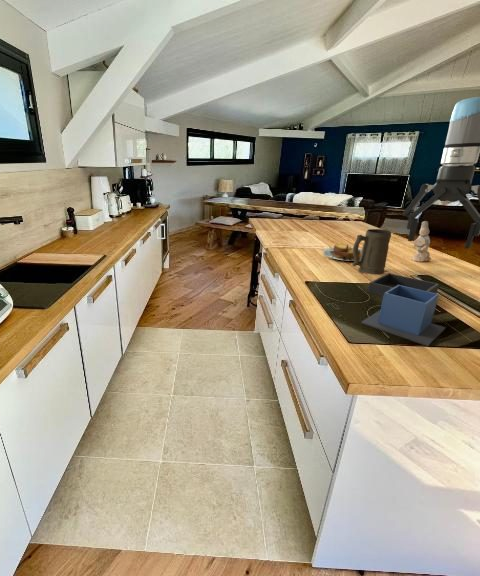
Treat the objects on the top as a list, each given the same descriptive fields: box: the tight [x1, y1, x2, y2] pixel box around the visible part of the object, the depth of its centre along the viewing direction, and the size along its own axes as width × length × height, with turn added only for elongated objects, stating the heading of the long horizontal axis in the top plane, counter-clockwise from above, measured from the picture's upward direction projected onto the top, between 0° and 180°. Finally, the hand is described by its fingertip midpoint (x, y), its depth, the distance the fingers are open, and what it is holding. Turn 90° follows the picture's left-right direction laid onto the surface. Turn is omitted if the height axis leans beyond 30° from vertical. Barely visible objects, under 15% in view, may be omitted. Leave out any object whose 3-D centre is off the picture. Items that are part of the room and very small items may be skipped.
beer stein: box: [352, 228, 392, 275], centre depth 143 cm, size 15×11×20 cm
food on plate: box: [322, 243, 362, 262], centre depth 171 cm, size 25×25×7 cm
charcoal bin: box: [367, 272, 440, 297], centre depth 120 cm, size 18×18×5 cm
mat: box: [360, 309, 448, 347], centre depth 97 cm, size 18×18×1 cm
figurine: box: [412, 220, 432, 262], centre depth 161 cm, size 9×8×20 cm
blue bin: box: [378, 285, 440, 335], centre depth 96 cm, size 11×11×10 cm
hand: (437, 244), depth 90 cm, fingers open, 13 cm apart
